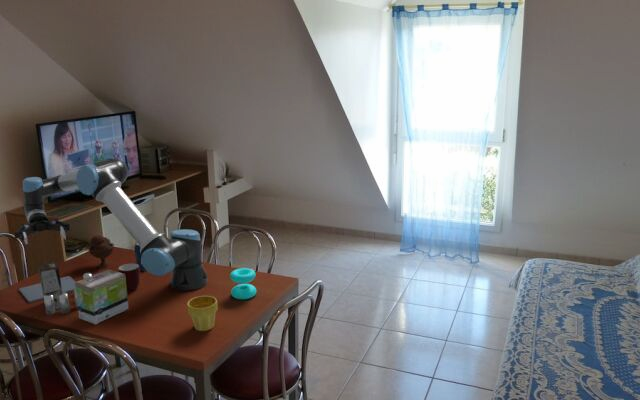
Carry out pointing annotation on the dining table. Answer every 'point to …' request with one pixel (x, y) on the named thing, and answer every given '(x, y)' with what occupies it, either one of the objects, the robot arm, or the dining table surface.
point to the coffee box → (51, 281)
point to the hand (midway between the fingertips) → (45, 237)
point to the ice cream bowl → (101, 249)
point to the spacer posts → (61, 300)
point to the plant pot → (203, 312)
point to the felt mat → (36, 293)
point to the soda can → (138, 256)
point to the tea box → (101, 296)
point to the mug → (131, 275)
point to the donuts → (243, 289)
